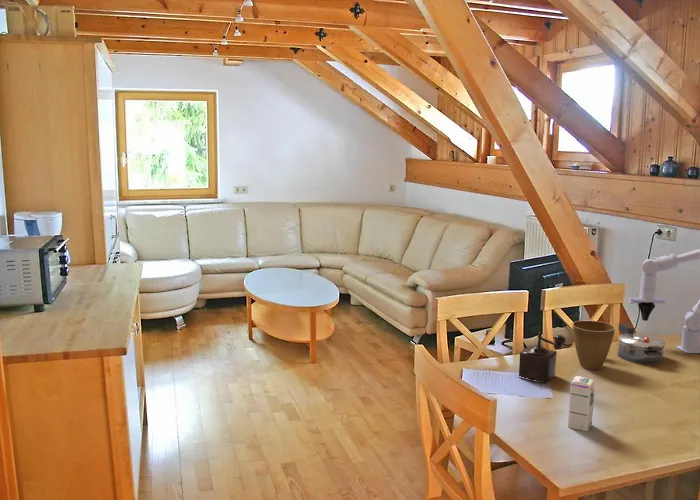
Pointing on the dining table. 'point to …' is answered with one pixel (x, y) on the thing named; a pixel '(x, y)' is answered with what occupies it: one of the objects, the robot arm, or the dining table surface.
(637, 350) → the clear plastic food container
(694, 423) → the dining table surface
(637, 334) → the lid
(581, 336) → the plant pot
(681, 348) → the robot arm
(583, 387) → the syrup box
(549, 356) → the manual coffee grinder
